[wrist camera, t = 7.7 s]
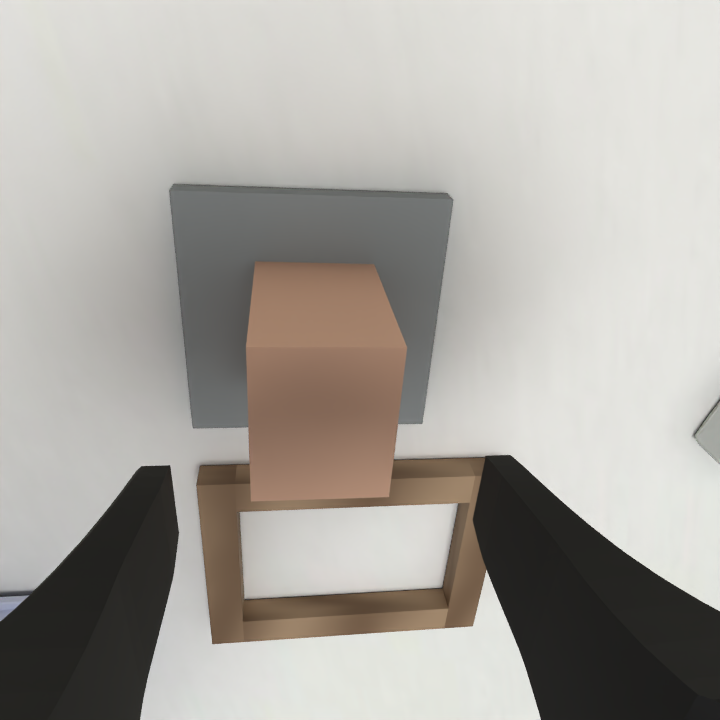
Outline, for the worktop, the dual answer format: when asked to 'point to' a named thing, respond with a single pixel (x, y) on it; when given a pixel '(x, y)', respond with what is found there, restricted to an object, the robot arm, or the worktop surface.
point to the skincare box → (710, 434)
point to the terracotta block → (322, 382)
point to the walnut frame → (347, 611)
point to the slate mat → (307, 245)
